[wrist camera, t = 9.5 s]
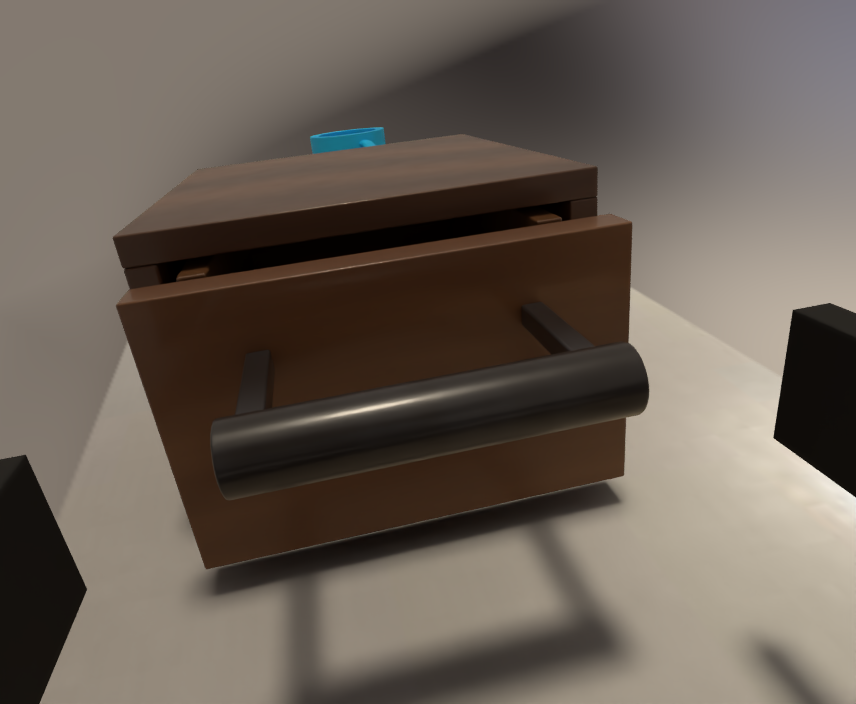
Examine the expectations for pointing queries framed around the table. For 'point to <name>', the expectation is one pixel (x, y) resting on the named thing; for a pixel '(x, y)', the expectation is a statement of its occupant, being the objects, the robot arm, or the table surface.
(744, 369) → the table surface
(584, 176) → the cabinet
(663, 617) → the table surface
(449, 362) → the drawer
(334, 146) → the mug
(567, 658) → the table surface
